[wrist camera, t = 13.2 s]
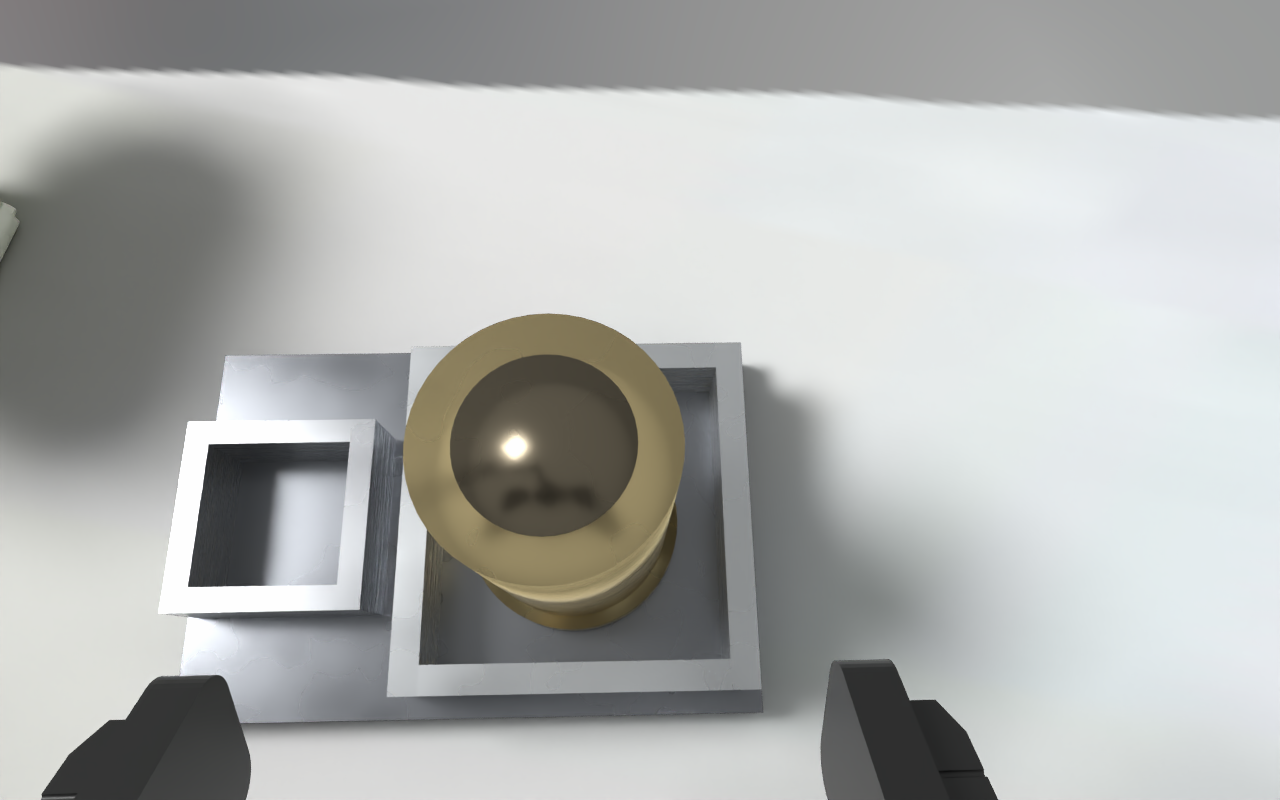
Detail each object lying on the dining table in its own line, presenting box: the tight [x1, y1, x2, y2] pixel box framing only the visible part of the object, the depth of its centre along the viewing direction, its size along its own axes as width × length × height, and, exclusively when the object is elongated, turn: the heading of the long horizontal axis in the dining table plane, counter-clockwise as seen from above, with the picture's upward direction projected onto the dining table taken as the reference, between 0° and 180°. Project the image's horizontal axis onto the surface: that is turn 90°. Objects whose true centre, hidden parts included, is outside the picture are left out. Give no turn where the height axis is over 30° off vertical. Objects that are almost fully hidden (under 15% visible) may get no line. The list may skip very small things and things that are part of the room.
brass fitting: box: [403, 314, 685, 631], centre depth 19 cm, size 5×5×9 cm
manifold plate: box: [159, 343, 763, 723], centre depth 22 cm, size 15×10×3 cm, turn 91°
